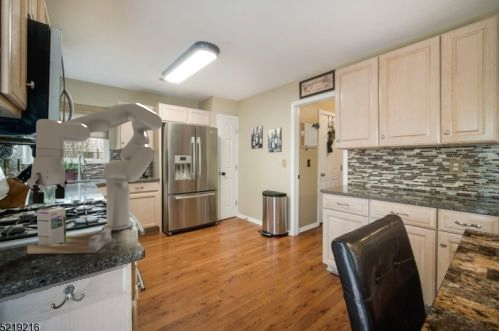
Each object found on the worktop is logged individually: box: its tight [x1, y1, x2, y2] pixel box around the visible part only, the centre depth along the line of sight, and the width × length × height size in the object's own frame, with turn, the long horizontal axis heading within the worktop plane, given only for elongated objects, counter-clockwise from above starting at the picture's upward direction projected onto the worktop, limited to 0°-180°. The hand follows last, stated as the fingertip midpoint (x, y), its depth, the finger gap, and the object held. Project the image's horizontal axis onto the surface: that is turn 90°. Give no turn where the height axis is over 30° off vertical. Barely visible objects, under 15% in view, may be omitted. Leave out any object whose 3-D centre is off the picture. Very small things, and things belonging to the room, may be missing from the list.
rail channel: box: [26, 229, 112, 255], centre depth 84 cm, size 11×22×5 cm, turn 95°
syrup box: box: [36, 206, 67, 245], centre depth 83 cm, size 6×6×14 cm
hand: (49, 201), depth 82 cm, fingers open, 9 cm apart
